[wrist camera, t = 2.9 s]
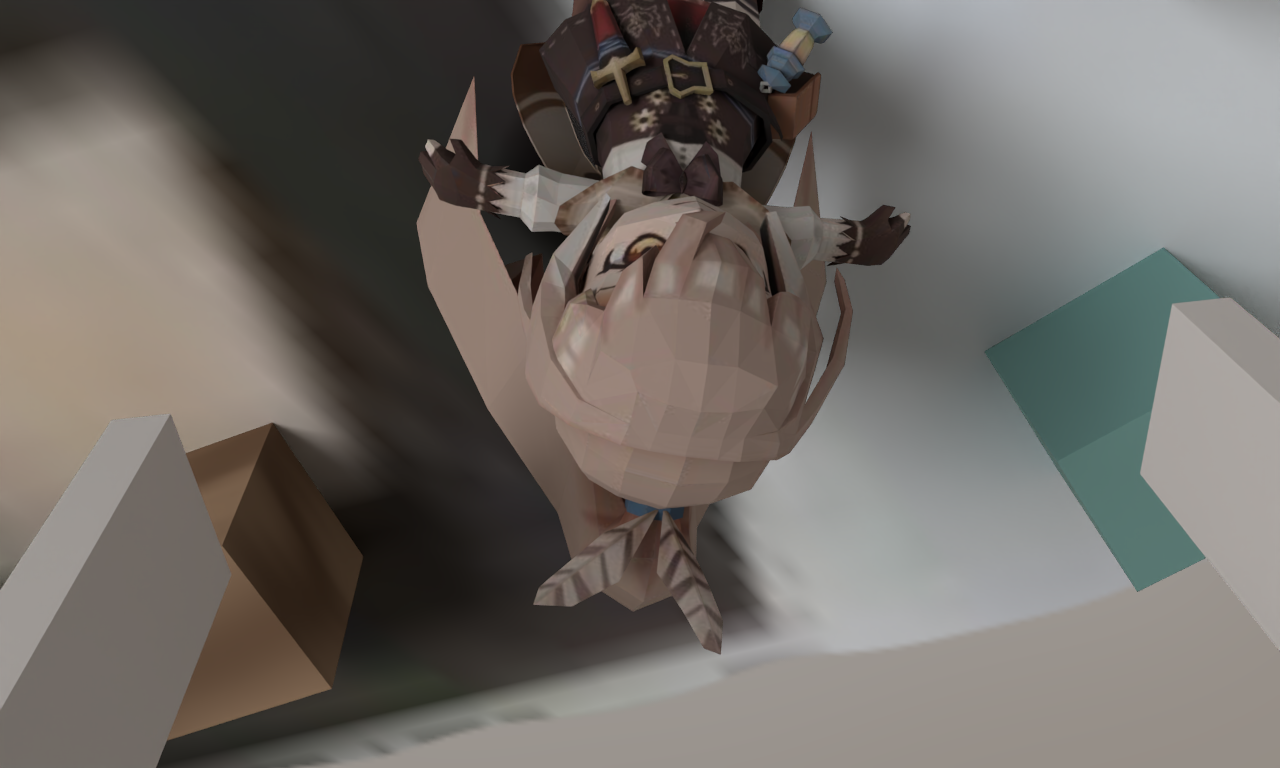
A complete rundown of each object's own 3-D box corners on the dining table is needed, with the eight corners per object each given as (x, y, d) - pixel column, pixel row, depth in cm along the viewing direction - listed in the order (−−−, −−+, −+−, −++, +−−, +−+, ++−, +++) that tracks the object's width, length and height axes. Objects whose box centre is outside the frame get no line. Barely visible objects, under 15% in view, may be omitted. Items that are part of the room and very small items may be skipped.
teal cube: (983, 349, 28) (1057, 461, 24) (1162, 245, 27) (1272, 344, 23) (1058, 470, 31) (1137, 591, 26) (1226, 380, 29) (1337, 492, 25)
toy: (909, -98, 22) (1131, 533, 12) (786, 221, 28) (865, 803, 18) (457, -188, 20) (288, 438, 11) (436, 168, 27) (318, 766, 17)
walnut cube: (107, 479, 29) (29, 611, 25) (273, 420, 28) (221, 545, 24) (209, 605, 31) (154, 744, 27) (363, 554, 31) (331, 689, 27)
